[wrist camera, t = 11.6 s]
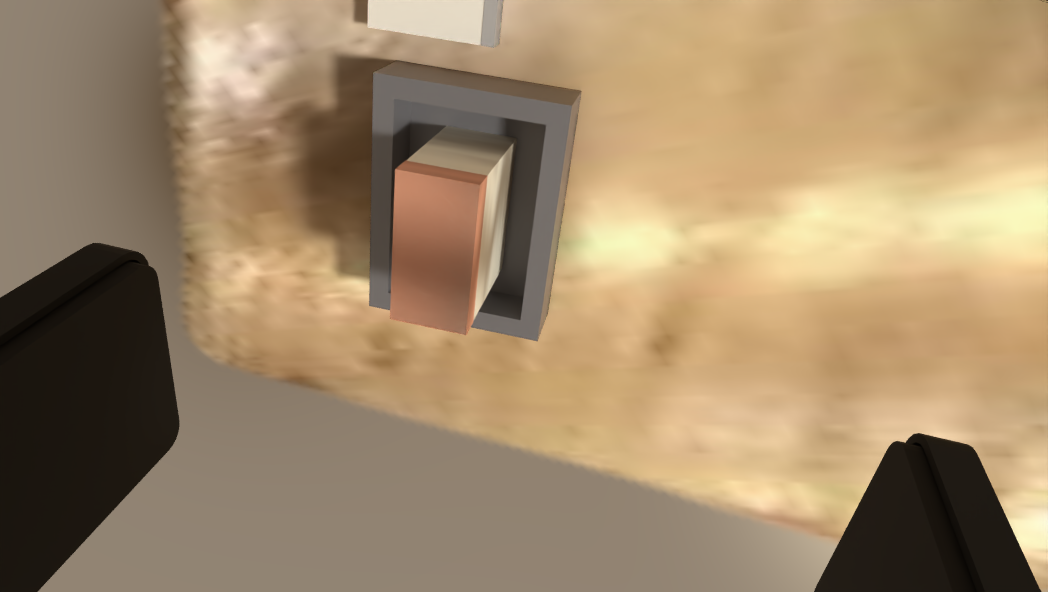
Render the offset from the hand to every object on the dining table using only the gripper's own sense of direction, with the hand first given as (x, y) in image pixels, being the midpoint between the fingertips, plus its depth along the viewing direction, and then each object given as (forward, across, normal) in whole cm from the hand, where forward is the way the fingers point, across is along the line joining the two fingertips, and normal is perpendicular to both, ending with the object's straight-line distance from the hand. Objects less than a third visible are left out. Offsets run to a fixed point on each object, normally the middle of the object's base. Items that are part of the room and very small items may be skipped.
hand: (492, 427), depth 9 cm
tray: (+27, +7, +9) cm, 29 cm away
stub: (+26, +7, +9) cm, 29 cm away
